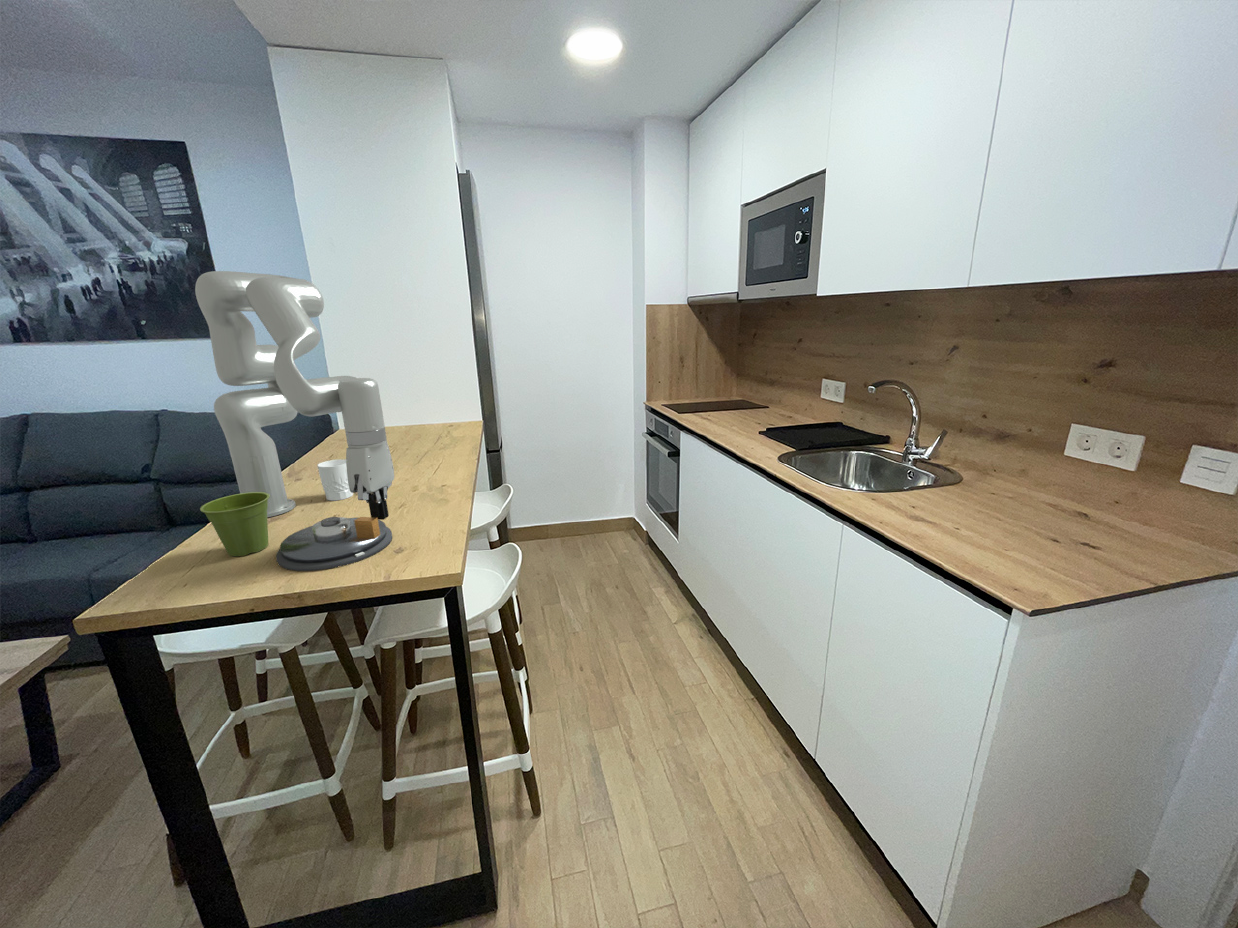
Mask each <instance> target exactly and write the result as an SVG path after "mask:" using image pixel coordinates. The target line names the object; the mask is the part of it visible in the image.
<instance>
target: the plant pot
mask: <svg viewBox="0 0 1238 928" xmlns="http://www.w3.org/2000/svg"><path fill="white" fill-rule="evenodd" d="M269 497H270V495H269V494H268V493H264V492H249V493H241V494H240V493H236V494H232V495H226V496H224V497H223V496H222V497H219V498H216V499H214V500H211V501H209V502H206V503H204V504H203V505H201V506H200V508H199V510H200V512H201V513H204V514H205V515H206V517H207V520H208V521H209V522H210V523H211V525H212V526H213V528H214V530H215V532H216V534H217V535H218V538H219V539H220V541H221V543H222V545H223V547H224V549H225V551H226V553H227V554H228V555H229V556H230V557H231V556H232V557H245V556H248V555H249V554H251V553H258V552H261V551H262V550H264V549H266V548H267V547H268V546H269V527H268V517H267V508H268V499H269Z"/></svg>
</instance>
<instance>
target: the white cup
mask: <svg viewBox="0 0 1238 928" xmlns="http://www.w3.org/2000/svg"><path fill="white" fill-rule="evenodd" d="M316 466H317V470H318V475H319V478H320V482H321V485H322V488H323V491H324V494H325V497H326V499H325V500H327V501H330V502H331V501H333V502H334V501H341V500H342V501H343V500H345V499H349V498H351V497H352V496H353V495H354V493H351V492H350V489H349V484H348V477H347V467H346V458H345V459H343V458H342V459H332V460H331V459H330V460H326V461H323V462H319V463H318V464H317V465H316Z"/></svg>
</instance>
